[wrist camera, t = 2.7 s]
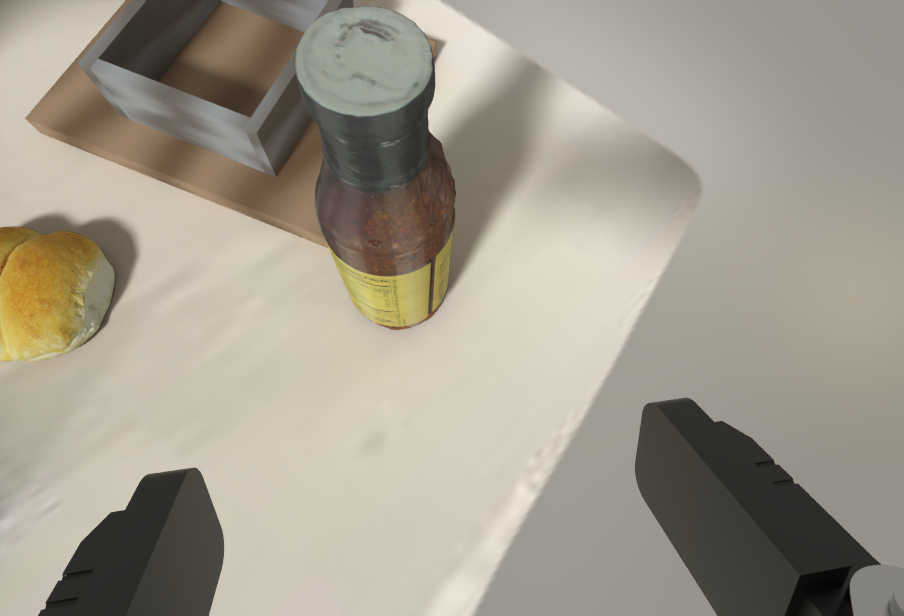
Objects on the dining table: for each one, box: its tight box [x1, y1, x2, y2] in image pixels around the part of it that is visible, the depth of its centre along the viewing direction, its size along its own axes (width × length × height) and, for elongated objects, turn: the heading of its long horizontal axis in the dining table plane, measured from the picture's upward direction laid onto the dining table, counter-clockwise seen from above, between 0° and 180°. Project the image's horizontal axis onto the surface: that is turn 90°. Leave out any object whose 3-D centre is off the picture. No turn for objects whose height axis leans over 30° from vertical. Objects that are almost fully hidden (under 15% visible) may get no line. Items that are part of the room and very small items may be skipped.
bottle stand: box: [25, 0, 437, 248], centre depth 35 cm, size 22×18×6 cm
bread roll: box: [0, 227, 115, 362], centre depth 30 cm, size 8×9×4 cm
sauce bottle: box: [295, 6, 456, 330], centre depth 24 cm, size 6×6×20 cm
